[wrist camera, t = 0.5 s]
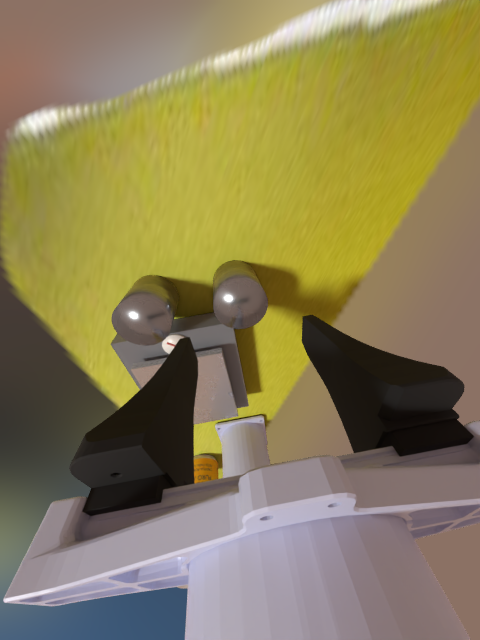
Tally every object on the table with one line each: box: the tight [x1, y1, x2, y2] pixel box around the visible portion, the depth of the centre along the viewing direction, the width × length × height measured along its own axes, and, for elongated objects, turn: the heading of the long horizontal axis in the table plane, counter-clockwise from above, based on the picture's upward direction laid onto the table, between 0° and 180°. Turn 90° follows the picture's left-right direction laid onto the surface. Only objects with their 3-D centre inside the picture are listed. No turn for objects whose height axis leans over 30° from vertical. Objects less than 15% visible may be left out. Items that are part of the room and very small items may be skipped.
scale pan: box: [131, 348, 238, 424], centre depth 24 cm, size 11×9×1 cm
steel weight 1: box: [112, 275, 179, 346], centre depth 19 cm, size 4×4×5 cm
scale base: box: [111, 312, 249, 408], centre depth 25 cm, size 14×12×3 cm
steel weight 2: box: [213, 260, 268, 329], centre depth 19 cm, size 4×4×5 cm
